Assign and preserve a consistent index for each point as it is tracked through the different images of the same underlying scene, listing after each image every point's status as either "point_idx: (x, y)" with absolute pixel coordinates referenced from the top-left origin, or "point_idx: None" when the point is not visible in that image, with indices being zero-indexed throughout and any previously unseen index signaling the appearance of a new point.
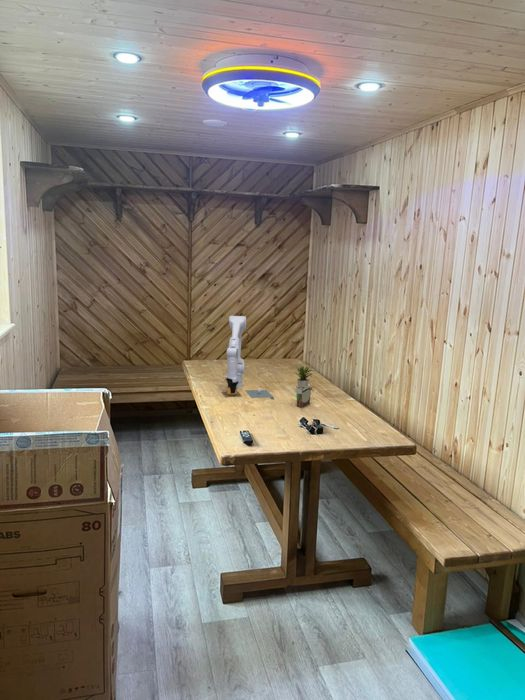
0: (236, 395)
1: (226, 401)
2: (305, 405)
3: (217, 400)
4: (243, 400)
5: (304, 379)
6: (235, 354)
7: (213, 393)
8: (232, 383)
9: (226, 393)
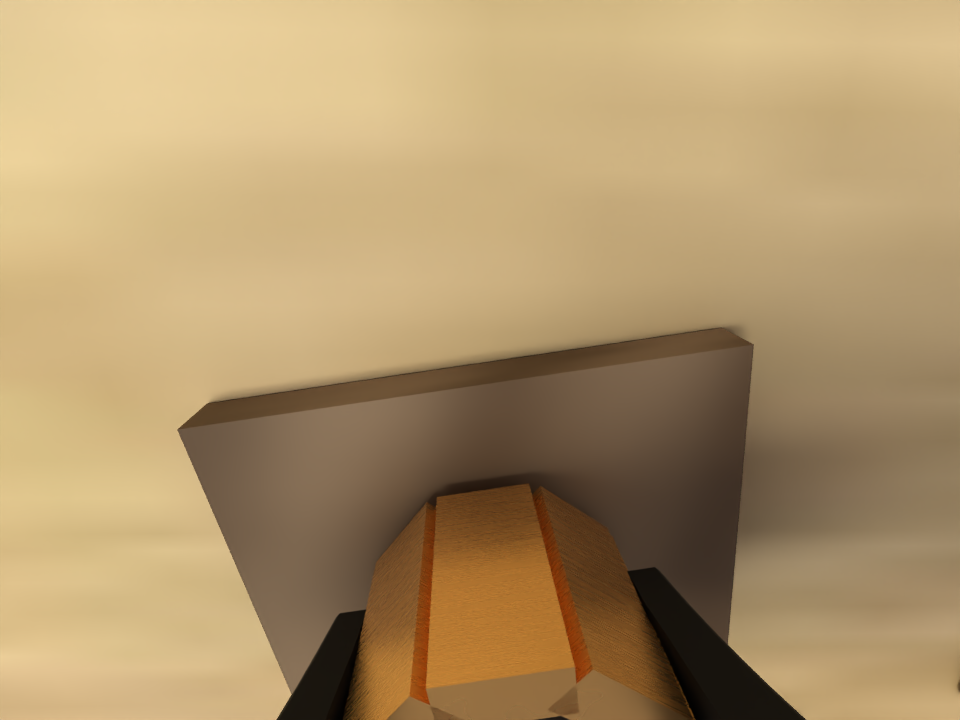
0: None
1: (25, 439)
2: None
3: (42, 219)
4: (217, 704)
5: None
6: None
7: (838, 108)
8: None
9: (589, 466)
